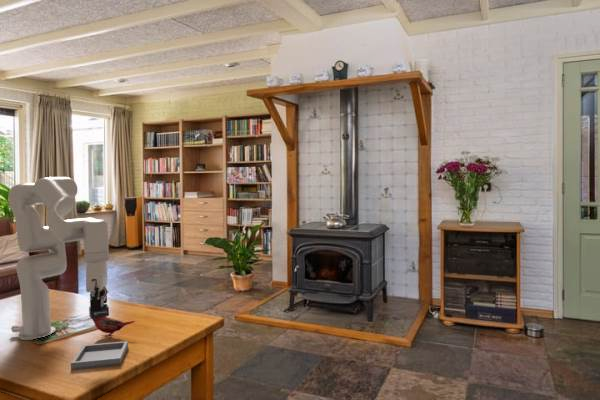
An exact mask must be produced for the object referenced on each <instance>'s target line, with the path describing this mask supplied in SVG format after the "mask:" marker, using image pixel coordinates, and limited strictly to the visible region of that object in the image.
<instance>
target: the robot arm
mask: <svg viewBox="0 0 600 400" xmlns="http://www.w3.org/2000/svg"><path fill="white" fill-rule="evenodd" d="M76 195H78V185H77V183H76V181H75V180H74V179H73V178H71V177H67V176H49V177H48V176H47V177H41V178H39V179H37V180H36V181H35V182H26V183H25V182H24V183H18V184H15V185H13V186H12V187H11V188H10V189H9V191H8V197H7V199H8V204H9V206H10V207H9V208H10V209H11V212H12V214H13V217H14V220H15V229H16V237H17V243H18V244H17V245H18V248H19V249H20V251H21V252H23V253H33V252H35V253H36V252H42V251H48V252H46V253H38V254H34V255H27V256H25V257H23V258H21V259H20V260H18V262H17V263H16V266H15V268H16V269H15V270H16V273H17V278H18V282H19V287H20V299H21V317H22V319H21V320H22V324H20V325H12V326H11V328H10V329H11V332H12V333H18V339H19V340H21V341H34V340H33V339H36V338H39V337H43V336H47V335H50V334H52V333H54V332H55V331H56V329H57V328H56V327H55V326H52V323H51V321H52V320H51V303H50V301H51V299H50V287H49V286H48V285H47V283H45V282H44V281H43V279H46V278H52V277H54V276H55V277H56V276H60V275H62V274H64V273H65V272H66V270H67V267H68V264H67V263H68V262H67V253H66V252H67V251H66V244H65V243H71V242H78V241H83V251H84V252H83V254H84V257H83V258H84V263H86V266H85V267H86V269H85V292H86V293H89V307H90V310H91V312H94V311H101V299H100V291H102V290H103V289H104V287H105V288H106V289H107V285H108V266H107V265H108V264H107V261H109V260H110V250H109V230H108V229H109V228H108V227H109V226H108V225H109V224H108V222H107V221H106V219H97V218H94V217H85V218H72V219H71V218H70V219H64V218H63V217H65V216H67V215H68V214H69V213H71V212H72V210H73V209H74V207H75V200H74V198H75V197H76ZM39 205H44V206H45V207H46V208H47V209H48V211H47V213H46V214H47V215H46V224H47V225H45V226H43V224H42V218H41V217H42V216H41V214H40V213H39V211H38V210H37V209H36V208H35V207H34V206H39ZM95 289H98V290H95ZM97 293H98V295H97ZM104 304H108V294H107V295H106V299H105V301H104ZM55 333H56V332H55ZM55 333H54V334H55ZM52 335H53V334H52ZM50 336H51V335H50ZM36 340H37V339H36Z"/></svg>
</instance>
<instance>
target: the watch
mask: <svg viewBox="0 0 600 400" xmlns="http://www.w3.org/2000/svg"><path fill="white" fill-rule="evenodd" d="M95 290H98V289H95ZM108 293H109V290H107V287H106V288H105V287H104V289H103V290H102V291H100V299H101V311H94V312H91V310H90V306H88V310H89V311H88V312H89V317H90V319H91V320H93V319H94V318H100V317H109V316H110V310H109V304H108V303H104V301H105V299H106V295H107V296H108ZM97 295H98V293H97Z"/></svg>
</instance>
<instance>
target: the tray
mask: <svg viewBox="0 0 600 400" xmlns="http://www.w3.org/2000/svg"><path fill="white" fill-rule="evenodd" d="M128 350H129V341H115V342H114V341H113V342H105V343H91V344H83V345H82V347H80V349H79V351H78V352H77V354H76V355H75V356H74V358H72V361H71V362H70V370H71V371H77V370H79V371H80V370H88V368H89V369H97V368H98V369H99V368H108V367H118V366H122V363H123V361H124V358H125V356H126V355H127V352H128Z"/></svg>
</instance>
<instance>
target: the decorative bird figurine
mask: <svg viewBox="0 0 600 400" xmlns="http://www.w3.org/2000/svg"><path fill="white" fill-rule="evenodd" d="M92 321H93V323H94V326H95V327H96V328H97V330H98V331H100V332H102V333H106V334H103V335H102V334H101V337H106V338H108V337H111V338H112V337H115V335H114V333H115V332H117V331H120V330H121V329H122V328H124V327H126V326H127V325H130V324H133V323H135V322H136V321H135V320H132V321H126V322H122V321H121V320H117V319H115V318H111V317H109V316H106V317H100V318H94V319H92Z"/></svg>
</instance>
